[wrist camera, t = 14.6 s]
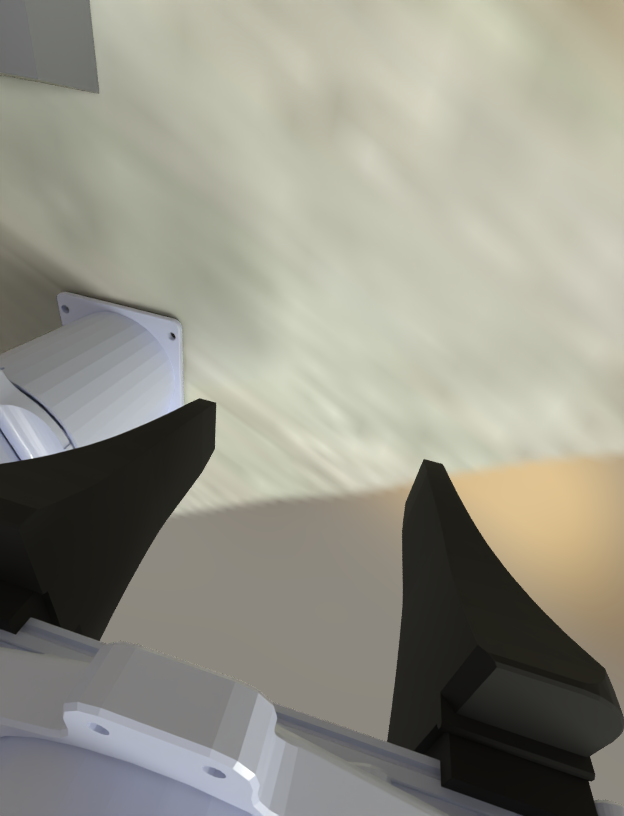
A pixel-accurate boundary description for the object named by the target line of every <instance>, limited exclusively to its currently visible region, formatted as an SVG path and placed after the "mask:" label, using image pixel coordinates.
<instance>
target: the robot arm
mask: <svg viewBox="0 0 624 816" xmlns="http://www.w3.org/2000/svg"><path fill="white" fill-rule="evenodd" d="M57 302H58V307H59V312H60V317H61V321H62V327H60V328H58V329H55V330H53V331H51V332H49V333H46V334H44V335H42V336H40V337H38V338H35V339H33V340H31V341H29V342H26V343H24V344H22V345H20V346H17V347H15V348H13V349H11V350H9V351H6V352H4V353H2V354H0V816H624V805H622V804H619V803H616V802H612V801H608V800H595V801H594V800H593V796H592V792H591V789H590V785H589V781H593V780H594V779H595V773H594V769H593V766H592V762H591V759H590V756H591V755H592V754H594V753H596V752H597V751H599V750H600V749H602V748H604V747H605V746H607V745H608V744H610V743H612V742H613V741H614V740H615V739H616V738H618V737H619V736H620V735H621V733H622V732H623V729H624V717H623V714H622V711H621V708H620V705H619V703H618V700H617V697H616V694H615V691H614V689H613V686H612V684H611V682H610V679H609V677H608V675H607V673H606V670H605V668H604V667H602V666H601V665H600V664H599V663H598V662H597V661H596V660H594V659H593V658H592V657H591V656H590V655H589V654H588V653H587V652H586V651H585V650H583V649H582V648H581V647H580V646H579V645H578V644H577V643H576V642H574V641H573V640H572V639H571V638H570V637H569V636H568V635H567V634H566V633H565V632H564V631H562V629H561V628H559V626H558V625H556V624H555V623H554V622H553V620H552V619H550V618H549V616H547V615H546V614H545V613H544V612H543V610H541V608H540V607H539V606H538V605H537V604H536V603H535V602H534V601H533V600H532V599H531V598H530V597H529V595H528V594H527V593H526V592H525V591H524V590H523V589H522V587H521V586H520V585H519V584H518V583H517V582H516V581H515V579H514V578H513V577H512V576H511V575H510V573H509V572H508V571H507V570H506V568H505V567H504V566H503V565H502V563H501V562H500V560H499V559H498V558H497V556H496V555H495V554H494V552H493V551H492V550H491V548H490V547H489V546H488V544H487V543H486V541H485V540H484V538H483V537H482V535H481V533H480V532H479V530H478V529H477V527H476V526H475V524H474V522H473V521H472V519H471V517H470V516H469V514H468V512H467V510H466V508H465V507H464V505H463V503H462V501H461V499H460V497H459V496H458V494H457V492H456V490H455V488H454V486H453V484H452V482H451V480H450V478H449V476H448V474H447V472H446V470H445V468H444V466H443V464H440V463H436V462H433V461H429V460H425V459H424V460H423V462H422V465H421V467H420V469H419V472H418V474H417V477H416V479H415V481H414V484H413V486H412V489H411V491H410V494H409V496H408V498H407V501H406V504H405V511H404V519H403V528H402V529H403V530H402V554H403V555H402V558H403V559H402V561H403V608H402V619H401V630H400V641H399V651H398V660H397V669H396V677H395V687H394V694H393V703H392V710H391V718H390V725H389V732H388V740H387V742H386V741H383V740H380V739H377V738H374V737H371V736H369V735H366V734H363V733H360V732H357V731H354V730H351V729H349V728H346V727H343V726H340V725H337V724H334V723H331V722H329V721H326V720H323V719H320V718H317V717H314V716H311V715H309V714H306V713H303V712H300V711H297V710H294V709H291V708H289V707H286V706H283V705H280V704H277V703H274V702H272V701H271V700H270V699H269V698H268V697H267V696H265V695H264V694H263V693H262V692H261V691H260V690H259V689H257V688H255V687H253V686H251V685H249V684H247V683H245V682H243V681H241V680H239V679H237V678H234V677H231V676H228V675H225V674H222V673H219V672H217V671H214V670H211V669H208V668H205V667H202V666H199V665H196V664H193V663H190V662H188V661H185V660H182V659H179V658H176V657H173V656H170V655H168V654H165V653H162V652H159V651H156V650H153V649H150V648H147V647H145V646H142V645H138V644H133V643H129V642H124V641H118V642H114V643H109V644H106V643H103V642H100V639H101V637H102V635H103V633H104V631H105V629H106V627H107V625H108V623H109V620H110V618H111V616H112V614H113V613H114V611H115V609H116V607H117V605H118V603H119V601H120V599H121V597H122V596H123V594H124V592H125V590H126V588H127V586H128V584H129V582H130V581H131V579H132V577H133V575H134V573H135V572H136V570H137V568H138V566H139V564H140V563H141V561H142V559H143V557H144V556H145V554H146V552H147V550H148V548H149V547H150V545H151V544H152V542H153V540H154V539H155V537H156V535H157V533H158V532H159V530H160V529H161V528H162V526H163V525H164V523H165V522H166V520H167V519H168V517H169V516H170V515H171V513H172V512H173V511H174V509H175V508H176V507H177V505H178V504H179V503H180V501H181V500H182V499H183V497H184V496H185V495H186V493H187V492H188V491H189V489H190V488H191V487H192V485H193V484H194V483H195V481H196V480H197V478H198V477H199V476H200V474H201V473H202V471H203V469H204V468H205V466H206V464H207V462H208V461H209V459H210V457H211V455H212V453H213V451H214V449H215V425H216V403H215V402H211V401H207V400H204V399H197V400H195V401H193V402H190V403H188V404H186V405H184V389H183V347H182V326H181V324H180V322H179V321H178V320H176V319H174V318H170V317H166V316H162V315H158V314H154V313H150V312H146V311H142V310H138V309H134V308H130V307H126V306H122V305H118V304H114V303H110V302H106V301H102V300H98V299H94V298H90V297H86V296H82V295H78V294H74V293H70V292H61V293H59V294H58V295H57ZM66 306H67V307H68V308H69V310H68V309H67V307H66ZM171 332H172V333H174V335H175V337H176V338H174V337H173V336H172V335H171Z"/></svg>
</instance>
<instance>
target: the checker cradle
mask: <svg viewBox="0 0 624 816" xmlns="http://www.w3.org/2000/svg"><path fill="white" fill-rule="evenodd" d="M0 75H4V76H9V77H14V78H20V79H25V80H30V81H35V82H41V83H46V84H51V85H57V86H62V87H67V88H72V89H78V90H83V91H88V92H94V93H99V87H98V78H97V69H96V59H95V50H94V41H93V32H92V23H91V13H90V4H89V0H0Z"/></svg>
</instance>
